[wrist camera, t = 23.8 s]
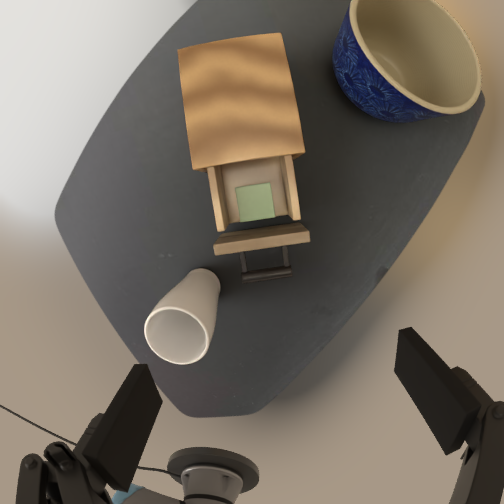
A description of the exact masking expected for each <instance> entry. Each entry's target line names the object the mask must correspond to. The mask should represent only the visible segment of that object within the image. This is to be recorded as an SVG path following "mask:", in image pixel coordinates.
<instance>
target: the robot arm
mask: <svg viewBox="0 0 504 504" xmlns="http://www.w3.org/2000/svg"><path fill="white" fill-rule="evenodd" d="M394 372H395V374H396V375H397V376H398V378H399V380H400V381H401V383H402V384H403V386H404V387H405V389H406V390H407V392H408V394H409V395H410V397H411V398H412V400H413V402H414V403H415V405H416V406H417V408H418V409H419V411H420V413H421V414H422V416H423V418H424V419H425V421H426V423H427V424H428V426H429V428H430V429H431V431H432V433H433V434H434V436H435V438H436V439H437V441H438V442H439V444H440V446H441V448H442V450H443V451H444V453H445V455H448V454H450V453H452V452H454V451H456V450H458V449H460V448H461V446H462V444H463V443H464V441H466V443H467V444H468V446H467V448H466V450H465V452H464V453H463V455H462V457H461V458H460V459H463V457H464V459H463V463H462V467H461V470H460V473H459V476H458V479H457V483H456V486H455V489H454V492H453V494H452V497H451V500H450V502H449V504H500V501H501V497H502V493H503V488H504V402H502V401H498V402H494V401H493V400H492V399H491V398H490V396H489V395H488V394H487V393H486V392H485V391H484V390H483V389H482V388H481V386H480V385H479V384H477V382H476V381H475V380H474V379H472V377H471V376H470V374H469V373H468V372H467V371H466V370H464V369H462V368H460V367H458V366H457V367H455V368H452V369H450V368H449V367H448V365H447V364H446V363H445V362H444V361H443V360H442V359H441V358H440V357H439V356H438V355H437V354H436V352H435V351H434V350H433V349H432V348H431V347H430V346H429V345H428V344H427V343H426V342H425V341H424V340H423V339H422V338H421V337H420V335H418V333H417V332H416V331H415V330H414V329H413V328H412V327H409V328H405V329H401V330H399V334H398V344H397V353H396V361H395V368H394ZM162 402H163V401H162V399H161V397H160V395H159V392H158V390H157V388H156V385H155V383H154V380H153V378H152V375H151V373H150V370H149V368H148V365H147V364H134V366H133V368H132V369H131V371H130V372H129V374H128V376H127V377H126V379H125V381H124V382H123V384H122V385H121V387H120V389H119V390H118V392H117V393H116V395H115V397H114V398H113V400H112V402H111V404H110V405H109V407H108V408H107V410H106V412H105V413H104V414H102V413H99V414H98V415H97V416H95V417H94V418H93V419H92V420H91V422H90V423H89V425H88V428H86V430H85V432H84V434H83V435H82V437H81V438H80V440H79V441H78V443H77V444H76V443H73V442H71V441H69V440H67V439H65V438H62V437H60V436H58V435H56V434H54V433H52V432H50V431H48V430H46V429H44V428H42V427H40V426H38V425H37V424H34V423H33V422H31V421H29V420H27V419H25V418H23V417H21V416H20V415H18V414H16V413H14V412H12V411H11V410H9V409H7V408H5V407H3V406H2V405H0V407H2V408H3V409H5V410H7V411H9V412H10V413H12V414H14V415H16V416H18V417H19V418H21V419H23V420H25V421H27V422H29V423H30V424H32V425H35V426H36V427H38V428H40V429H42V430H44V431H46V432H48V433H50V434H52V435H54V436H56V437H58V438H60V439H62V440H64V441H66V442H69V443H70V444H73V445H75V446H76V447H75V449H74V450H73V452H72V451H71V450H70V448H69V447H68V446H67V444H65V443H64V442H59V441H58V442H53V443H51V444H49V445H48V446H47V447H46V449H45V450H44V457H45V458H46V459H47V460H48V461H43V459H42V458H41V457H40V456H39V455H37V454H33V453H32V454H28V455H27V456H25V457H24V458H23V459H22V462H21V466H20V472H19V478H18V486H17V495H16V504H234V503H235V501H236V499H237V497H238V495H239V494H241V489H242V487H243V477H242V475H241V474H240V473H239V472H237V471H236V470H234V469H232V468H229V467H226V466H223V465H219V464H213V463H194V464H190V465H187V466H186V467H184V468H183V470H182V474H181V476H180V475H177V474H174V473H171V472H168V471H165V470H161V469H155V468H146V467H140V466H138V464H139V461H140V459H141V456H142V453H143V451H144V448H145V445H146V443H147V440H148V438H149V435H150V433H151V430H152V428H153V425H154V422H155V420H156V417H157V415H158V412H159V410H160V407H161V405H162ZM137 468H138V469H143V470H153V471H159V472H164V473H167V474H170V475H172V476H175V477H178V478H181V480H182V485H183V490H184V495H185V496H184V501H181V500H177V499H174V498H171V497H168V496H165V495H162V494H159V493H157V492H154V491H151V490H148V489H146V488H145V487H141V486H138V485H135V484H132V483H131V482H132V480H133V477H134V474H135V472H136V469H137ZM107 483H108V485H109V486H110V487H111V488H113V489H114V490H117V491H116V493H115V494H114V496H113V498H112V499H111V498H110V496H109V494H108V492H107V490H106V489H105V486H106V484H107ZM46 494H47V497H46Z"/></svg>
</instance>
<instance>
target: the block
mask: <svg viewBox="0 0 504 504" xmlns="http://www.w3.org/2000/svg"><path fill="white" fill-rule="evenodd" d="M235 191H236V198H237V204H238V210H239V216H240V222H247V221H253V220H260V219H267V218H274V217H275V210H274V203H273V197H272V190H271V183H270V182H268V183H261V184H255V185H248V186H242V187H236V188H235Z"/></svg>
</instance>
